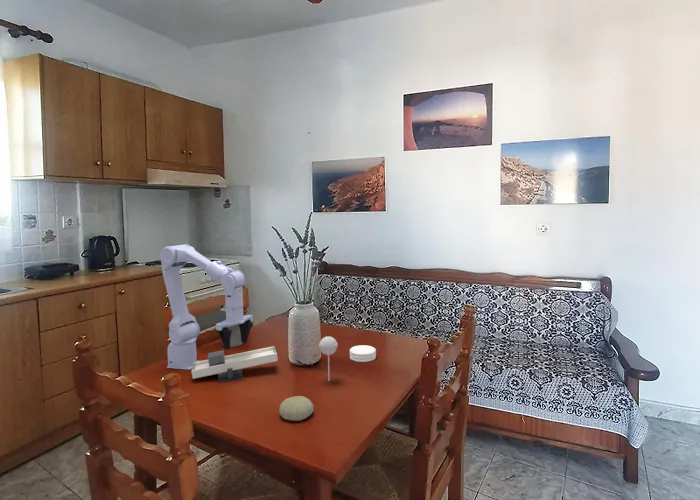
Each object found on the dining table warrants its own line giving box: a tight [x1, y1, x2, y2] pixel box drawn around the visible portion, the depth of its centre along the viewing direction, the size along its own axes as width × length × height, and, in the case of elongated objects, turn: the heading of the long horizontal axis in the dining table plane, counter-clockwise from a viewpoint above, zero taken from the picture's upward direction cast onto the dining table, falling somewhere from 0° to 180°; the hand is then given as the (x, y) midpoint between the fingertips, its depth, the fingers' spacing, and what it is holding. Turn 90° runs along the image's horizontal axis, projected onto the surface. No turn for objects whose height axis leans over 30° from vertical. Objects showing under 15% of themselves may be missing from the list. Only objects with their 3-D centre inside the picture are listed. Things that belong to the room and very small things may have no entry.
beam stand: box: [217, 368, 244, 383], centre depth 151 cm, size 8×12×4 cm, turn 16°
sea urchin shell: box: [278, 395, 314, 422], centre depth 121 cm, size 9×8×8 cm
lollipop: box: [318, 335, 339, 382], centre depth 143 cm, size 6×6×15 cm
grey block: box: [207, 349, 226, 367], centre depth 149 cm, size 5×5×4 cm
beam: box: [191, 345, 278, 380], centre depth 151 cm, size 28×8×3 cm, turn 105°
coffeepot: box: [219, 304, 244, 348], centre depth 184 cm, size 15×9×18 cm, turn 44°
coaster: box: [349, 344, 377, 363], centre depth 166 cm, size 10×10×4 cm
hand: (235, 345), depth 150 cm, fingers open, 7 cm apart
